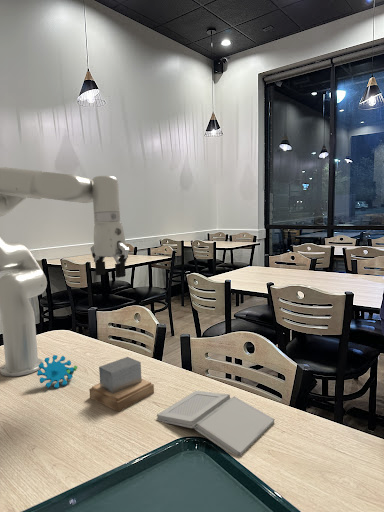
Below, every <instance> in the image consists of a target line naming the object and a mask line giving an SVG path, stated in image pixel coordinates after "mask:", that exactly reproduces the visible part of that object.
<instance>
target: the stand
mask: <svg viewBox="0 0 384 512" xmlns="http://www.w3.org/2000/svg"><path fill="white" fill-rule="evenodd" d="M141 380H142V382H140V383H138V384H135V385H133V386H131V387H128V388H126V389H124V390H121V391H119V392H117V393H114V394H112V393H110V392H108V391H107V390H105V389H103V388H101V387H100V382H99V383H97V384H95V385H93V386H91V388H89V389H88V391H89V399H92V400H94V401H96V402H98V403H100V404H102V405H104V406H105V407H108V408H109V409H112V410H114V411H115V412H118V413H119V412H121V411H123V410H124V409H127V408H128V407H131V406H133V405H134V404H135V403H138V402H139V401H141V400H143V399H145V398H147V397H149V396H151V395H152V394H154V393H155V385H154V383H152V382H151V381H149V380H146V379H143V378H141Z"/></svg>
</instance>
